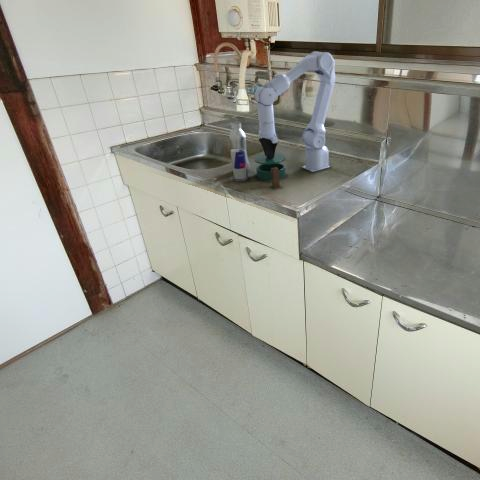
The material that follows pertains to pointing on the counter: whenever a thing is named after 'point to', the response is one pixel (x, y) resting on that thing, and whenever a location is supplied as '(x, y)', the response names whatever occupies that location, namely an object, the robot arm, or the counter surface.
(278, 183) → the stick
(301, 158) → the counter surface
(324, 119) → the robot arm
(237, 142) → the plastic bottle
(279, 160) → the tin lid
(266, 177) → the tin
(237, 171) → the energy drink
